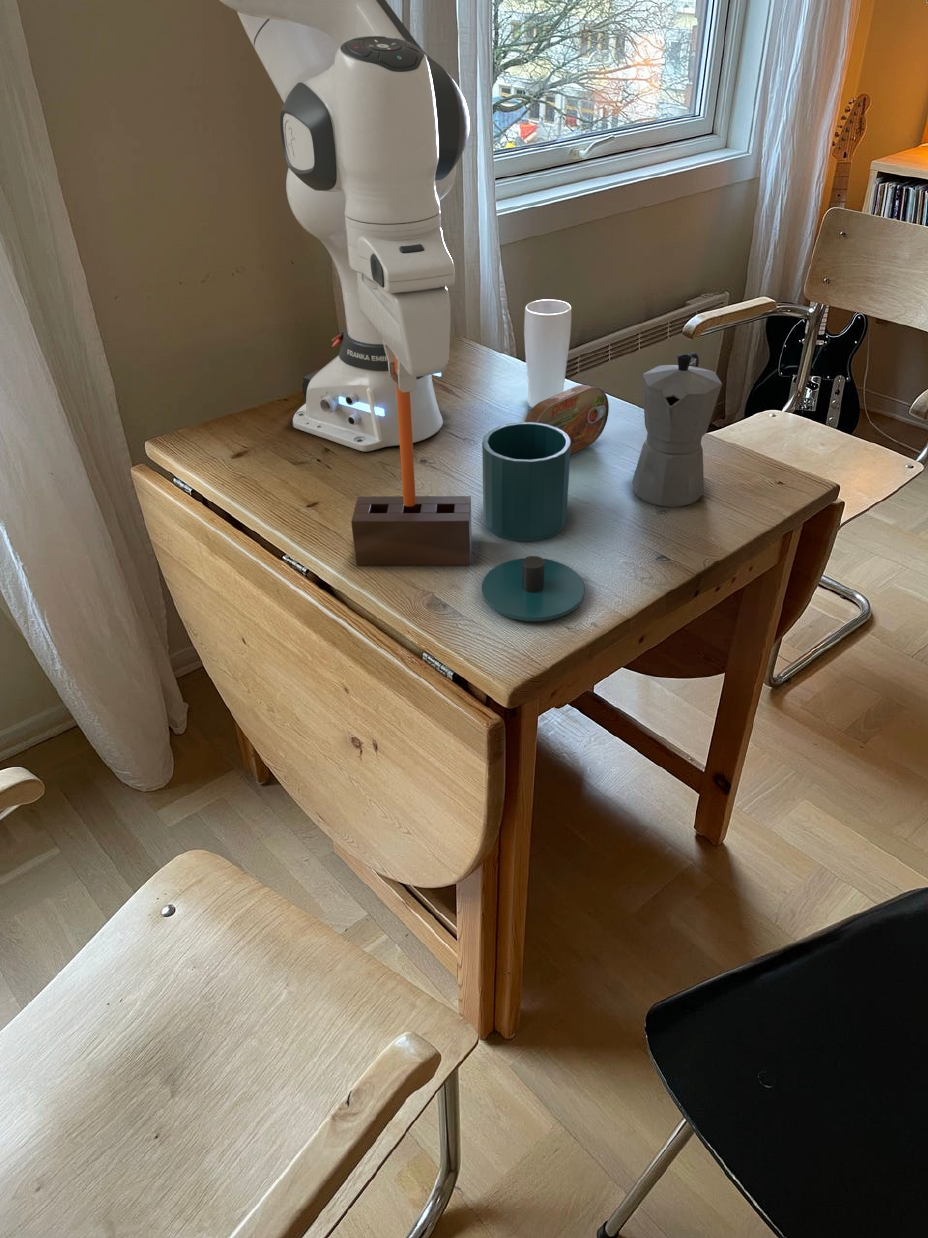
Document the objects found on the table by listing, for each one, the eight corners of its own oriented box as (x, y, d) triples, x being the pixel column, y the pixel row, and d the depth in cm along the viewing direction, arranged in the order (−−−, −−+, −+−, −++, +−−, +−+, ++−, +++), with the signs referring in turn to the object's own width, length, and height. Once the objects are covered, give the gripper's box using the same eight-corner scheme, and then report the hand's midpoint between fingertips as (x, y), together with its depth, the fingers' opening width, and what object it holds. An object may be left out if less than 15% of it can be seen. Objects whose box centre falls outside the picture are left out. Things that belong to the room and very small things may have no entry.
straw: (401, 505, 101) (391, 350, 90) (407, 499, 102) (398, 346, 91) (412, 507, 100) (403, 353, 89) (417, 502, 101) (410, 348, 90)
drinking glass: (564, 415, 133) (569, 315, 124) (519, 413, 134) (521, 313, 125) (569, 397, 138) (574, 299, 129) (526, 394, 139) (528, 298, 130)
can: (470, 530, 108) (468, 451, 102) (503, 492, 115) (504, 416, 109) (548, 549, 105) (551, 468, 98) (578, 508, 112) (582, 430, 105)
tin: (533, 472, 119) (535, 414, 114) (517, 464, 121) (518, 406, 116) (608, 437, 127) (613, 381, 122) (592, 430, 129) (595, 374, 124)
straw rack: (362, 539, 107) (357, 496, 104) (471, 539, 107) (470, 495, 103) (356, 565, 103) (351, 521, 99) (470, 565, 102) (469, 521, 99)
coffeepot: (695, 521, 109) (717, 380, 98) (619, 508, 111) (632, 370, 100) (715, 464, 120) (736, 332, 109) (645, 454, 123) (660, 324, 112)
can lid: (522, 639, 91) (523, 605, 89) (462, 587, 99) (460, 555, 96) (605, 601, 96) (608, 568, 94) (541, 554, 104) (542, 523, 101)
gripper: (336, 220, 91) (349, 352, 99) (391, 280, 75) (400, 430, 84) (396, 214, 92) (403, 344, 101) (461, 271, 77) (463, 419, 86)
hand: (402, 384), depth 92 cm, fingers closed on straw, 1 cm apart
